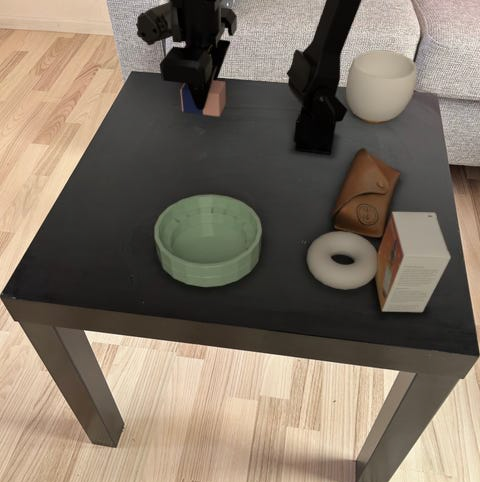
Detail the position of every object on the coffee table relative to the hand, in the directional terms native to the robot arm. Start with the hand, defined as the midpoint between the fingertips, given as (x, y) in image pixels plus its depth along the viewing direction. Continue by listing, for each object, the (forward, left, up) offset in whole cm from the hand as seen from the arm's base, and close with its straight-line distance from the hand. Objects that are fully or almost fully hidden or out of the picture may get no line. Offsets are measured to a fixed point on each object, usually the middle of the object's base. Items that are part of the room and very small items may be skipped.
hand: (204, 101), depth 74 cm
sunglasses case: (-28, +4, -11) cm, 30 cm away
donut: (-25, +20, -11) cm, 34 cm away
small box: (-32, +23, -11) cm, 41 cm away
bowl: (-6, +21, -11) cm, 24 cm away
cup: (-28, -22, -11) cm, 37 cm away
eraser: (0, 0, -1) cm, 1 cm away
